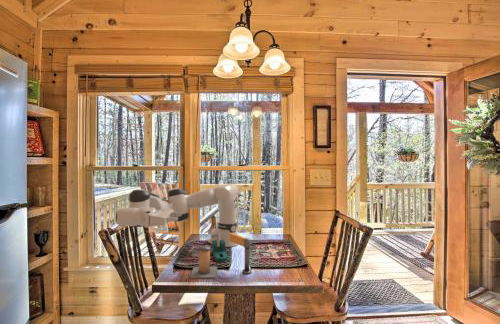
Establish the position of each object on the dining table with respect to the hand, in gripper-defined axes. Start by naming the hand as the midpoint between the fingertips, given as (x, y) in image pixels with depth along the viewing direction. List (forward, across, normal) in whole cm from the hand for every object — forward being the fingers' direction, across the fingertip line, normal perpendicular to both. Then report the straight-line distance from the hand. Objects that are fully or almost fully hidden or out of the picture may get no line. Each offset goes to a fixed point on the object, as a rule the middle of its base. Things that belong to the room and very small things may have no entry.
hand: (179, 216), depth 137 cm
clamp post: (+33, 0, -28) cm, 43 cm away
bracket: (+19, -23, -28) cm, 41 cm away
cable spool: (+12, 0, -27) cm, 30 cm away
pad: (+12, 0, -28) cm, 31 cm away
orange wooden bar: (+29, -5, -15) cm, 34 cm away
